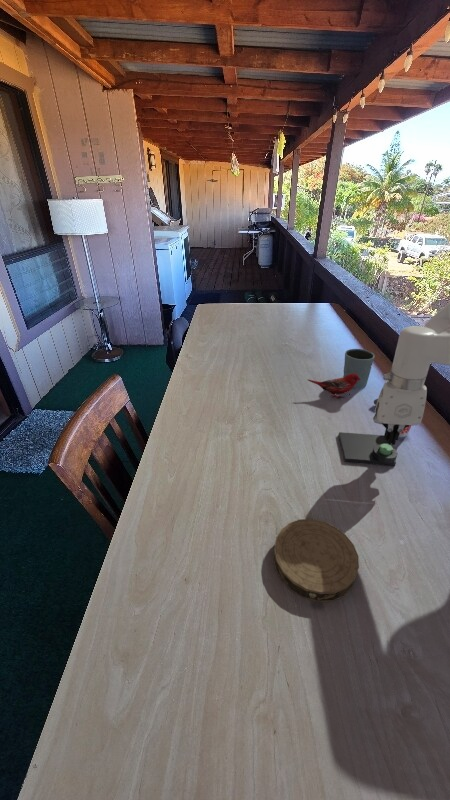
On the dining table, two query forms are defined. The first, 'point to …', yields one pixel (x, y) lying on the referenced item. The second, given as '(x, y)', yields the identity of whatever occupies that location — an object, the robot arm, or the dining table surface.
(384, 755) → the dining table surface
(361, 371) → the green cylindrical pot
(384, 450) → the tare button
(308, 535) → the wood log slice
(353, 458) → the scale
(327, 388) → the decorative bird figurine
